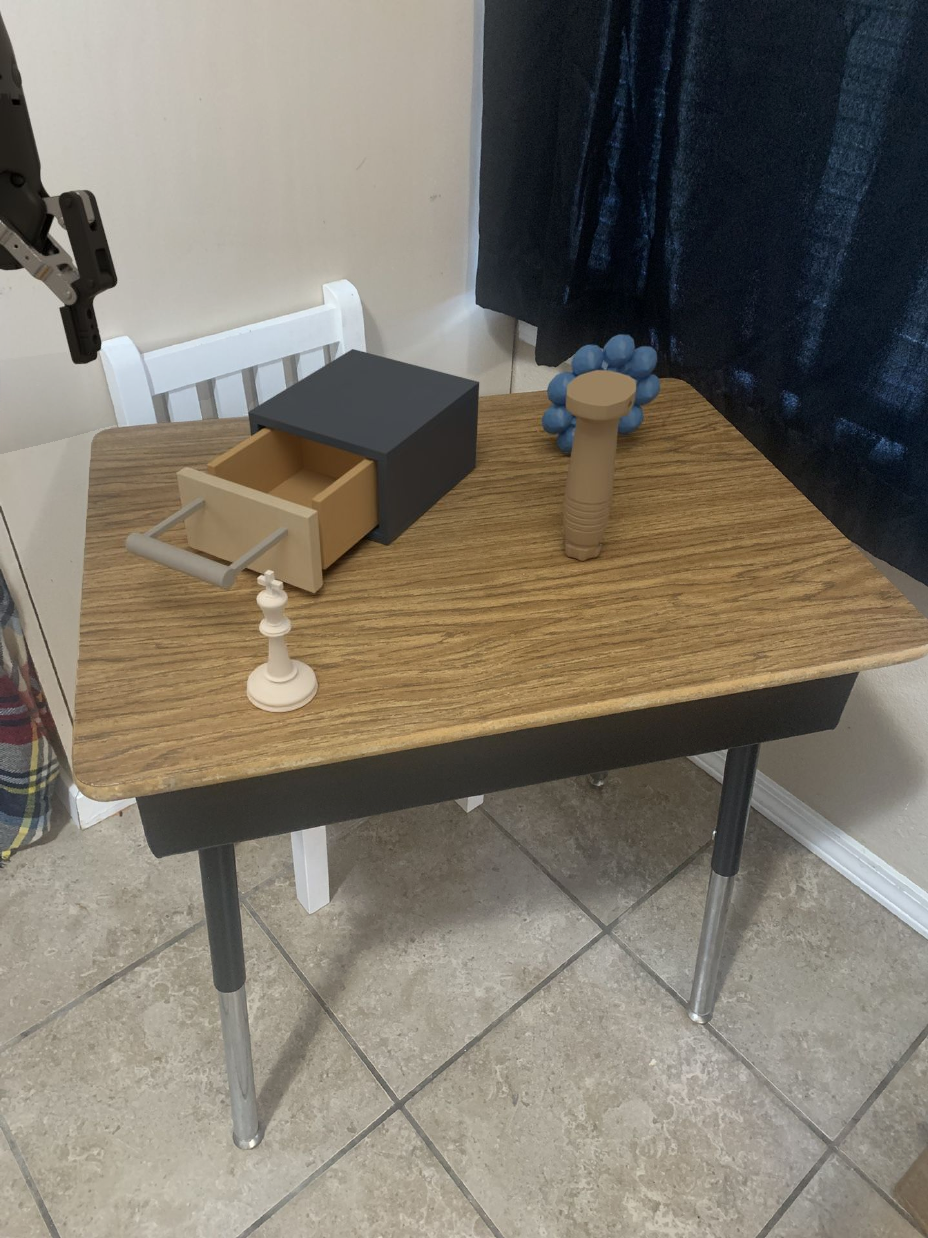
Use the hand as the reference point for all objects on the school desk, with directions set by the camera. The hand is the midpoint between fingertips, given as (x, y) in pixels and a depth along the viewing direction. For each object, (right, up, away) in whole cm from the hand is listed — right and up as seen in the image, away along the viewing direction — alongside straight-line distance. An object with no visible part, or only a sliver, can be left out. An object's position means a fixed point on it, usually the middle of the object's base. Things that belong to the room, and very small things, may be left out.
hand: (28, 363), depth 66 cm
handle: (+39, -12, +17) cm, 45 cm away
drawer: (+14, -11, +14) cm, 23 cm away
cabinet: (+21, -5, +25) cm, 33 cm away
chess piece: (+17, -22, +3) cm, 28 cm away
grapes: (+42, 0, +32) cm, 53 cm away
